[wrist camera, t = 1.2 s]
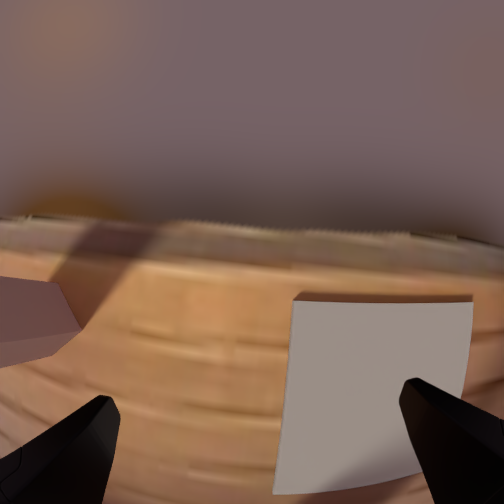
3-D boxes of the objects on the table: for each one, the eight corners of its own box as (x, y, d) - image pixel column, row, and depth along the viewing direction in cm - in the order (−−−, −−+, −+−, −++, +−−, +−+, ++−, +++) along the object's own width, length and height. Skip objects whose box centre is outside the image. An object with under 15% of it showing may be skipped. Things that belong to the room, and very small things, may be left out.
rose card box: (82, 330, 21) (-27, 346, 8) (52, 355, 20) (-47, 377, 8) (57, 282, 21) (-48, 268, 9) (30, 310, 21) (-68, 309, 9)
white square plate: (436, 462, 19) (439, 465, 18) (272, 489, 19) (272, 494, 18) (468, 302, 21) (473, 302, 20) (292, 300, 21) (293, 300, 21)
